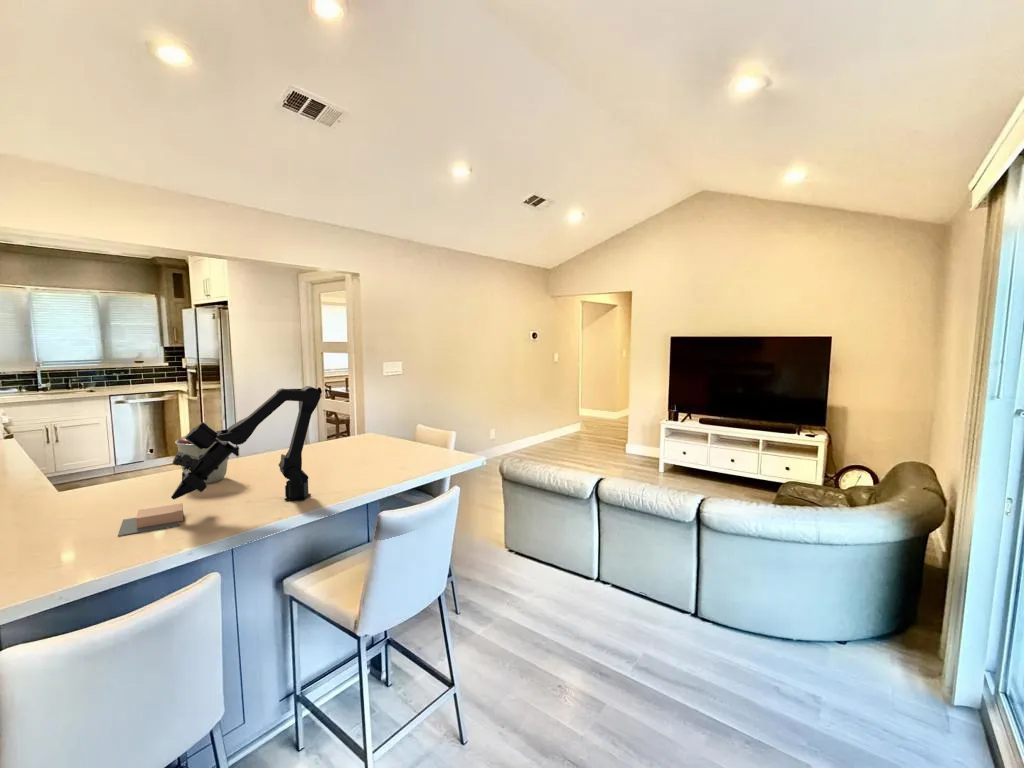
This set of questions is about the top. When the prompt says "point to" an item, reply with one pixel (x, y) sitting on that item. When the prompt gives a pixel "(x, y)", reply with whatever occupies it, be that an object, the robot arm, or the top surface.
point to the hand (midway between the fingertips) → (172, 498)
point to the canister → (191, 449)
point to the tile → (159, 515)
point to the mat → (131, 527)
